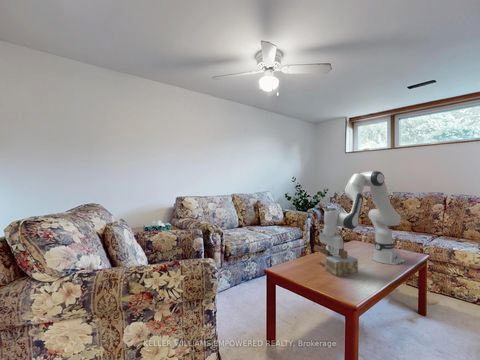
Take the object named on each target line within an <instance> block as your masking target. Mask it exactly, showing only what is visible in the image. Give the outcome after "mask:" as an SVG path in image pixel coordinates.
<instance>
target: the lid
mask: <svg viewBox="0 0 480 360" xmlns="http://www.w3.org/2000/svg"><path fill="white" fill-rule="evenodd" d="M325 259H327V260H329V261H331V262H333V263H335V264H338V262H340V261H344V262H352V261H358V262H359V259H358V258H356V257H353V256H351V255H348V251H347V250H345V249H344V250H342V251H340V255H339V256H332V257H326V256H325Z"/></svg>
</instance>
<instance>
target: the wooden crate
mask: <svg viewBox="0 0 480 360" xmlns="http://www.w3.org/2000/svg"><path fill="white" fill-rule="evenodd" d="M332 256H333V255H332V254H330V256H328V255H325V261H324V263H325V267H324V269H325V272H327V273H329V274H331V275H332V276H333V277H338V278H342V277H345V276H346V275H352V274H358V273H359V272H358V271H359V269H358V267H359V260H358V261H352V262H344V261H340V262H338V264H335V263H333V262H331V261H329V260H327V259H326V257H332Z"/></svg>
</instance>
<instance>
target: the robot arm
mask: <svg viewBox="0 0 480 360" xmlns="http://www.w3.org/2000/svg"><path fill="white" fill-rule="evenodd" d="M364 187H369V191H370V195H371V200H372V203H373V205H374V206H376V208H372V209H370V210H369V211H368V213H367V217H368V219H369V220H370V221H371V223H372V226H373V229H374V234H375V235H374V236H375V237H374V239H375V240H374V248H373V255H372V260H373V261H375V262H376V263H381V264H385V265H387V264H388V265H393V266H396V265H399V264H402V263H405V262H406V260H405V259H404V258H402V255H401V253H400V252H399V250H397V249H396V248H395V247H397V243H394V242H393V232H392V230H391V229H390V228H389V227H396V226H399V225H400V224H401V221H402V217H401V215H400V214H399V213H398V212H397V211H396V210H395V208H394V206H393V204H391V200H390V197H389V192H388V188H387V184H386V181H385V175H384V174H383V172H381V171H377V170H374V171H372V170H370V171H369V170H368V171H363V172H357V173H354V174H352V176H351V177H350V178H349V179H348V182H347V184H346V186H345V188H344V193H345V196H346V197H347V198H348V199H350V200H351V201H352V205H351V209H350V212H349V213H346V212H341V211H339V210H337V208H334V207H329V208H326V209H324V214H323V222H324V225H323V228H321V229H319V230H318V232H319V235H318V237H319V242H320V243H322V244H324V245H326V246H327V247H328V250H329V252H331V253H333V250H334V248H337V249H343V242H344V238H343V236H342V237H341V235H338V233H339V230H338V228H339V227H341V228H345V229H348V230H355V229H356V228H357V227H358V226H359V222H360V221H359V220H360V214H361V210H362V206H363V203H364V196H363V191H364ZM342 238H343V239H342ZM404 261H405V262H404ZM401 262H402V263H401ZM398 263H399V264H398Z"/></svg>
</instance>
